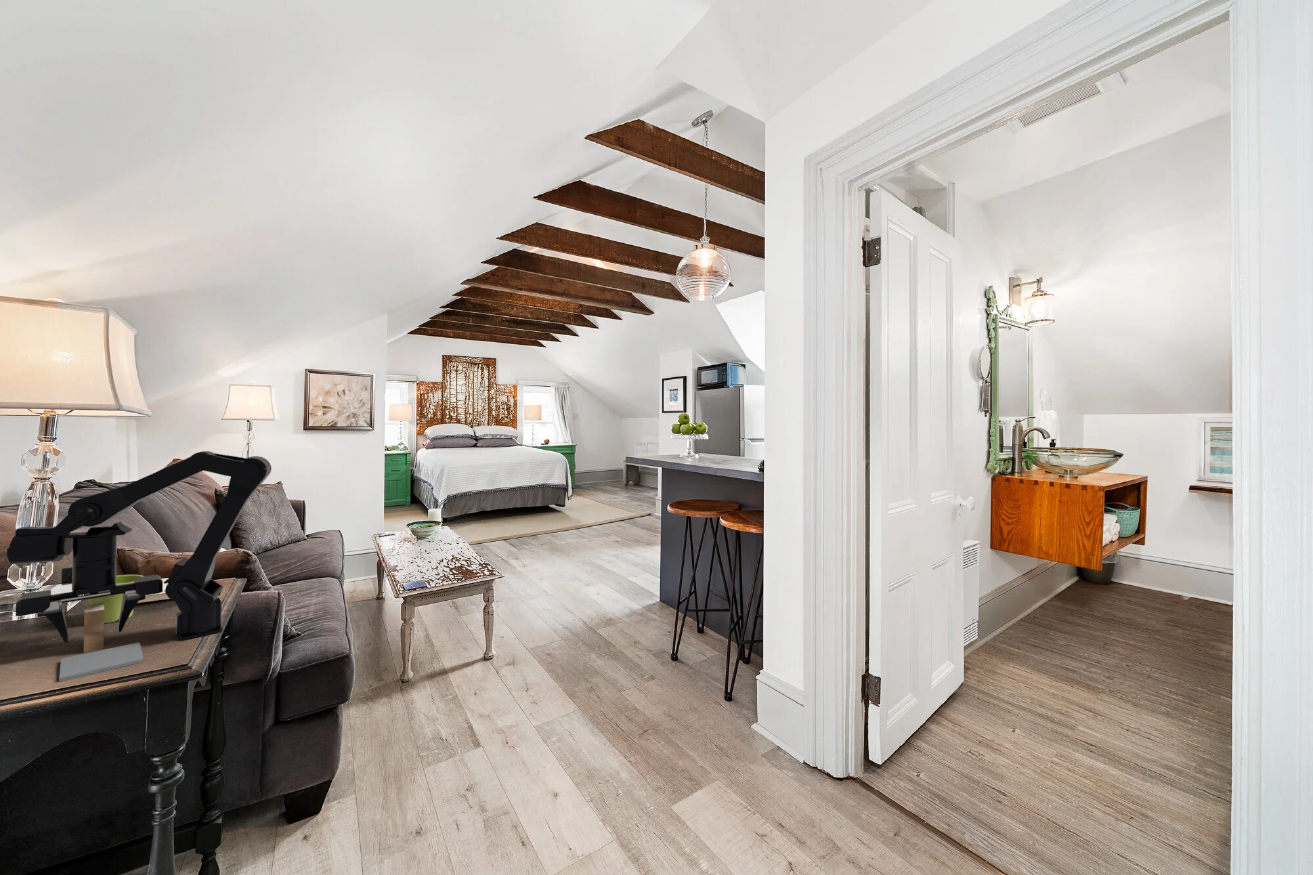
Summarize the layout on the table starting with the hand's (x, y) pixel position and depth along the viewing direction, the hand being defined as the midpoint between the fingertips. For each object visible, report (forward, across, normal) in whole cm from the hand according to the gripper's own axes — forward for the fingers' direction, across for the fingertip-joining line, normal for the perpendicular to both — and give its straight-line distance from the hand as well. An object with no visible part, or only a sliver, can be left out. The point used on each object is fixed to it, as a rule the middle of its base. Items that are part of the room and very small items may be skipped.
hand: (93, 636), depth 97 cm
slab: (+2, 0, 0) cm, 2 cm away
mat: (+2, -1, +10) cm, 10 cm away
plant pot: (+2, -3, -17) cm, 17 cm away
